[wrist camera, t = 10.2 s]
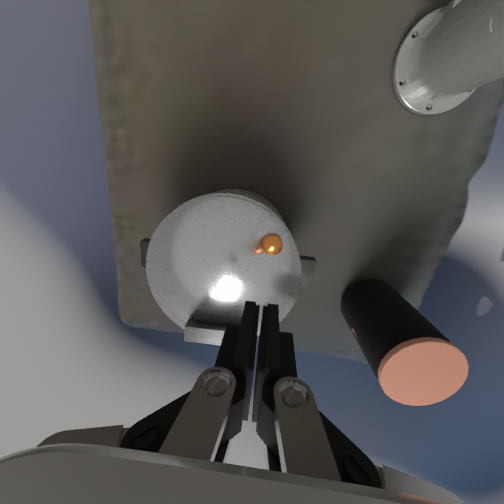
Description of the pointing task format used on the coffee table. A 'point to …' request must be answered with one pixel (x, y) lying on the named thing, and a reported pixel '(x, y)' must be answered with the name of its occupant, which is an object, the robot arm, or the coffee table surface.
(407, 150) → the coffee table surface
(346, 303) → the coffee jar
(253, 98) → the coffee table surface
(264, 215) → the cooker lid
